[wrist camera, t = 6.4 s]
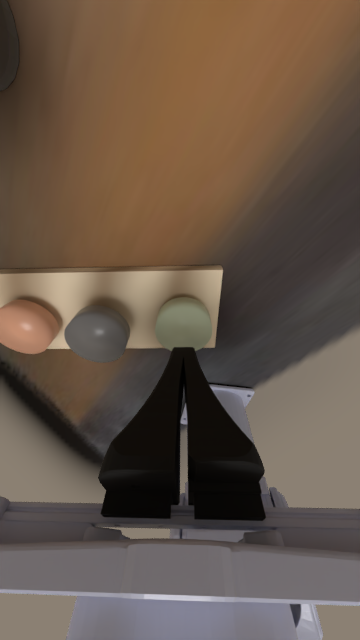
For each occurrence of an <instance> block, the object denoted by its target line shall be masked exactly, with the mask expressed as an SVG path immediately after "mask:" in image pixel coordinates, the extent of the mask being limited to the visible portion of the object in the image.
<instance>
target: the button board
mask: <svg viewBox="0 0 360 640" xmlns="http://www.w3.org/2000/svg"><path fill="white" fill-rule="evenodd" d="M222 274H223V269H222V267H221V265H200V266H147V267H94V268H42V269H0V308H1V307H3V306H4V305H5V304H7V303H8V302H10V301H13V300H27V301H31V302H34V303H36V304H38V305H40V306H42V307H44V308H45V309H46V310H48V311H49V312H50V313H51V314H52V315H53V316H54V317H55V319H56V321H57V323H58V325H59V333H58V335H57V336H56V338H55V339H54V340H53V341H52V342H51V344H50V345H49V346H48V347H47V348H46V349H71V348H70V347H69V346H68V344H67V343H66V340H65V337H64V332H65V328H66V327H67V325H68V324H69V323H70V321H71V320H72V319H73V318H74V316H75V315H76V314H77V313H78V312H79V311H80V310H81V309H82V308H84V307H87V306H91V305H100V306H105V307H108V308H111V309H113V310H115V311H117V312H118V313H120V314H121V315H122V316H123V317H124V318H125V319H126V321H127V322H128V324H129V327H130V337H129V340H128V343H127V346H126V348H165V347H164V346H162V345H161V344H160V342H159V341H158V340H157V338H156V334H155V326H156V321H157V316H158V312H159V310H160V309H161V307H162V306H163V305H164V304H165V303H166V302H168V301H170V300H172V299H175V298H180V297H187V298H192V299H195V300H198V301H199V302H201V303H202V304H203V305H204V306H205V307H206V308H207V310H208V311H209V314H210V319H211V325H212V336H211V339H210V340H209V342H208V343H207V344H206V345H205V346H204V347H203V348H215V340H216V331H217V321H218V312H219V302H220V293H221V283H222Z"/></svg>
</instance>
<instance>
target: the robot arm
mask: <svg viewBox="0 0 360 640" xmlns="http://www.w3.org/2000/svg"><path fill="white" fill-rule="evenodd" d="M183 388H184V389H185V399H186V403H185V407H184V410H183V413H182V417H181V408H182V398H183ZM253 395H254V390H253V389H249V388H240V387H231V386H222V385H213V384H208V382H207V380H206V378H205V376H204V374H203V372H202V369H201V367H200V365H199V362H198V360H197V357H196V353H195V348H193V347H174V348H173V349H172V353H171V356H170V359H169V361H168V364H167V366H166V368H165V370H164V372H163V374H162V376H161V378H160V380H159V382H158V384H157V385H156V387H155V389H154V390H153V392H152V393H151V395H150V397H149V398H148V399H147V401H146V402H145V404H144V405H143V406H142V408H141V409H140V410H139V412H138V413H137V414H136V415H135V416H134V418H133V419H132V420H131V421H130V422H129V424H128V425H127V426H126V427H125V428H124V429H123V430H122V431H121V432H120V433H119V434H118V436H117V437H116V438H115V439H114V440H113V441H112V442H111V444H110V446H109V448H108V450H107V453H106V455H105V457H104V460H103V463H102V466H101V470H100V474H99V477H98V478H99V481H100V483H101V484H102V486H103V487H104V488H105V489H106V494H105V498H104V502H103V504H97V503H96V504H95V503H48V502H47V503H45V502H9V500H8V499H6V498H4V497H0V593H20V594H44V595H70V596H77V598H76V602H75V606H74V610H73V614H72V618H71V621H70V625H69V629H68V633H67V637H66V640H322V638H323V632H322V628H321V624H320V620H319V617H318V613H317V609H316V606H315V604H320V605H322V604H323V605H352V606H360V509H336V508H289V507H288V504H287V502H286V500H285V498H284V496H283V495H282V494H281V493H280V492H278V491H277V489H276V488H275V487H270V488H269V490H268V487H267V483H266V480H265V477H263V475H264V467H263V464H262V461H261V459H260V456H259V454H258V452H257V449H256V447H255V445H254V441H253V437H252V434H251V430H250V426H249V422H248V418H247V415H246V411H245V407H246V406H247V404H248V403H249V401H250V400H251V398H252V397H253ZM180 421H181V423H182V424H187V451H188V482H186V483H185V493H182V494H181V495H180ZM269 491H270V494H269ZM270 497H271V498H270ZM102 527H124V528H165V529H166V528H167V529H168V528H169V529H170V539H130V538H128V537H125V536H123V535H122V533H121V530H115V529H109V528H102Z"/></svg>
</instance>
